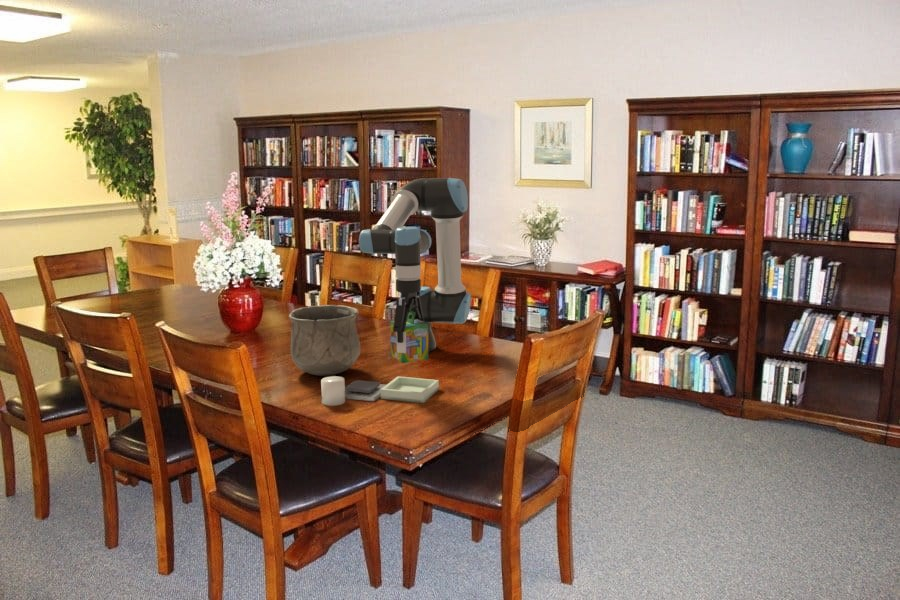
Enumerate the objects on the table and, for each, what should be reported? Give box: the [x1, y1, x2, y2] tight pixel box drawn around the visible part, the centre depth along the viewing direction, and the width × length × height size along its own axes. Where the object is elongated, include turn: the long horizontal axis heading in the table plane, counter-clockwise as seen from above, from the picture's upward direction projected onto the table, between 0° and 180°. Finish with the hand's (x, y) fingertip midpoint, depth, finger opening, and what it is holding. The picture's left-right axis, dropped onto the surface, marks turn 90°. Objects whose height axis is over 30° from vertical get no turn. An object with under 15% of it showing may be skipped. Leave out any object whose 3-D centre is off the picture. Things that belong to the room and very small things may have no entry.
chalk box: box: [389, 311, 429, 364], centre depth 237 cm, size 9×9×15 cm
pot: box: [288, 304, 361, 377], centre depth 261 cm, size 25×24×21 cm
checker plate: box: [346, 379, 381, 393], centre depth 242 cm, size 8×8×1 cm
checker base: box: [345, 380, 387, 402], centre depth 242 cm, size 13×13×2 cm
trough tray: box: [380, 375, 440, 404], centre depth 241 cm, size 14×14×3 cm
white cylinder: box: [320, 375, 346, 407], centre depth 233 cm, size 7×7×7 cm
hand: (409, 347), depth 238 cm, fingers closed on chalk box, 12 cm apart
